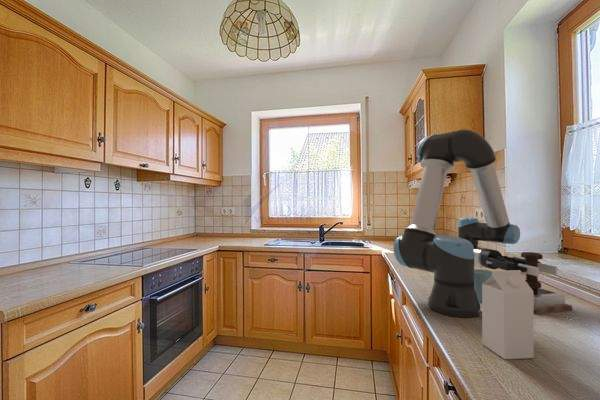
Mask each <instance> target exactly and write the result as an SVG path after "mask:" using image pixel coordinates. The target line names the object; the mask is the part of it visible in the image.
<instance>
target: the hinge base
mask: <svg viewBox="0 0 600 400" xmlns="http://www.w3.org/2000/svg"><path fill="white" fill-rule="evenodd" d="M568 311H569V312H570V311H573V305H572V304H567V303H566V294H565V293H562V292H559V291H555V290H551V289H548V288H544V287H541V288H539V289H538V295H534V315H543V314H550V313H551V314H552V313H559V312H568Z"/></svg>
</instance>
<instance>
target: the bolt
mask: <svg viewBox="0 0 600 400" xmlns="http://www.w3.org/2000/svg"><path fill="white" fill-rule="evenodd" d="M520 258H522V259H525V262H526V265H528V266H533V267H537V265H538V261H539V260H543V254H541V253H538V252H532V251H527V252H526V251H523V252H521V253H520ZM524 280H525V281H526V282H527V284H528V285H529V286H530V288H531V289H532V290H533V294H534V295H538V289H539V288H542V282H540V281H538V280H539V277H538V276H534V275H529V274H525V279H524Z"/></svg>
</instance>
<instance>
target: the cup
mask: <svg viewBox="0 0 600 400" xmlns="http://www.w3.org/2000/svg"><path fill="white" fill-rule="evenodd" d="M492 271H493V270H489V269H479V268H474V289H475V292H476V295H477V298H478V302H479V304H480V303H481V304H482V284H483V283H484V282H485V281H486V280H487V279H489V278H490V277H491V276H492Z"/></svg>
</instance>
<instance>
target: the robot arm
mask: <svg viewBox="0 0 600 400" xmlns="http://www.w3.org/2000/svg"><path fill="white" fill-rule="evenodd" d="M416 154H417V159H418V162H419V163H420V167H421V168H422V169H423V171H422V174H421V178H420V183H419V187H418V191H417V194H416V199H415V202H414V203H415V204H414V208H413V212H412V216H411V220H410V223H409V226H407V227H405V228H404V231H403V234H400V235H398V236H397V237H396V238H395V240H394V242H393V255H394V257H395V260H396V261H397V263H398V264H399V265H402V266H403V267H407V268H410V269H416V270H420V271H424V272H429V273H433V284H432V285H433V286H432V288H431V291H430V295H429V297H428V302H427V304H428V307H429V308H430V309H431V310H432V311H434V312H436V313H438V314H442V315H446V316H450V317H456V318H475V317H478V316H480V315H481V313H482V309H481V304H480V302H478V298H477V295H476V292H475V289H474V269H475V266H479V268H483V267H484V268H486V269H491V270H498V269H500V270H502V271H511V270H521V274H525V275H526V274H529V275H534V276H537V277H540V273H541V272H542V273H546V274H549V275H552V276H553V275H554V276H558V266H555V265H551V264H546V263H542V262H541V261H539V260H538V265H537V267H533V266H528V265H526V262H525V258H521V257H516V256H513V257H511V256H510V257H509V256H507V255H503V254H502V253H501V252H500V251H499V250H495V249H491V248H488V247H487V248H486V247H481V246H479V241H480V242H488V243H489V242H490V243H499V244H503V245H504V244H505V245H516V244H517V243H518V242H519V240H520V238H521V229H520V227H519V225H516V224H511V223H510V219H509V215H508V211H507V209H506V204H505V201H504V198H503V193H502V190H501V187H500V186H501V185H500V183H499V179H498V174H497V171H496V168H495V164H494V163H496V160H497V158H496V155H495V152H494V149H493V147H492V146H491V144H490V143H489V142H488V140H487V139H485V137H484V136H482V135H481V134H479V132H477V131H474V130H471V129H466V128H465V129H457V130H453V131H449V132H445V133H444V132H443V133H439V134H432V135H429V136H425V137H424V138H423V139H422V140H421V141H420V142H419V144H418V147H417V150H416ZM458 162H463V163H464V164H465V167H466V169H467V170H470V171H469V172H470V173H471V176H472V180H473V183H474V187H475V190H476V193H477V196H478V201H479V203H480V206H481V210H482V212H483V213H482V214H483V217H484V220H485V222H479V218H477V217H460V218H459V219H458V223H457V225H458V227H457V233H458V236H453V235H447V234H445V235H444V234H438V235H437V233H436V232H435V230H436V225H437V220H438V217H439V211H440V207H441V204H442V203H441V202H442V198H443V195H444V194H443V193H444V189H445V185H446V180H447V175H448V173H449V172H450V171H451V172H452V171H453V168H454V165H455V164H454V163H458Z"/></svg>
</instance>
